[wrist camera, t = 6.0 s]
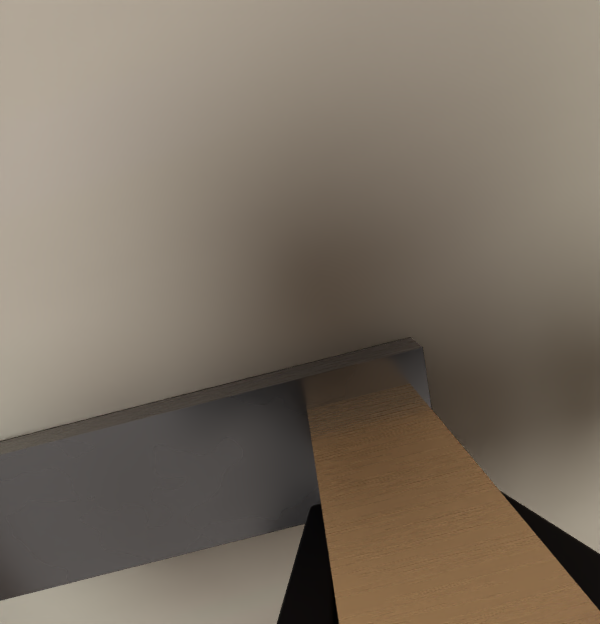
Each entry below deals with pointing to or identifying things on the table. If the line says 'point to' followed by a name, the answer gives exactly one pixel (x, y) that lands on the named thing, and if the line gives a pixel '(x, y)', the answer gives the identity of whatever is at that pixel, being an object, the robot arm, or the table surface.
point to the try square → (288, 495)
